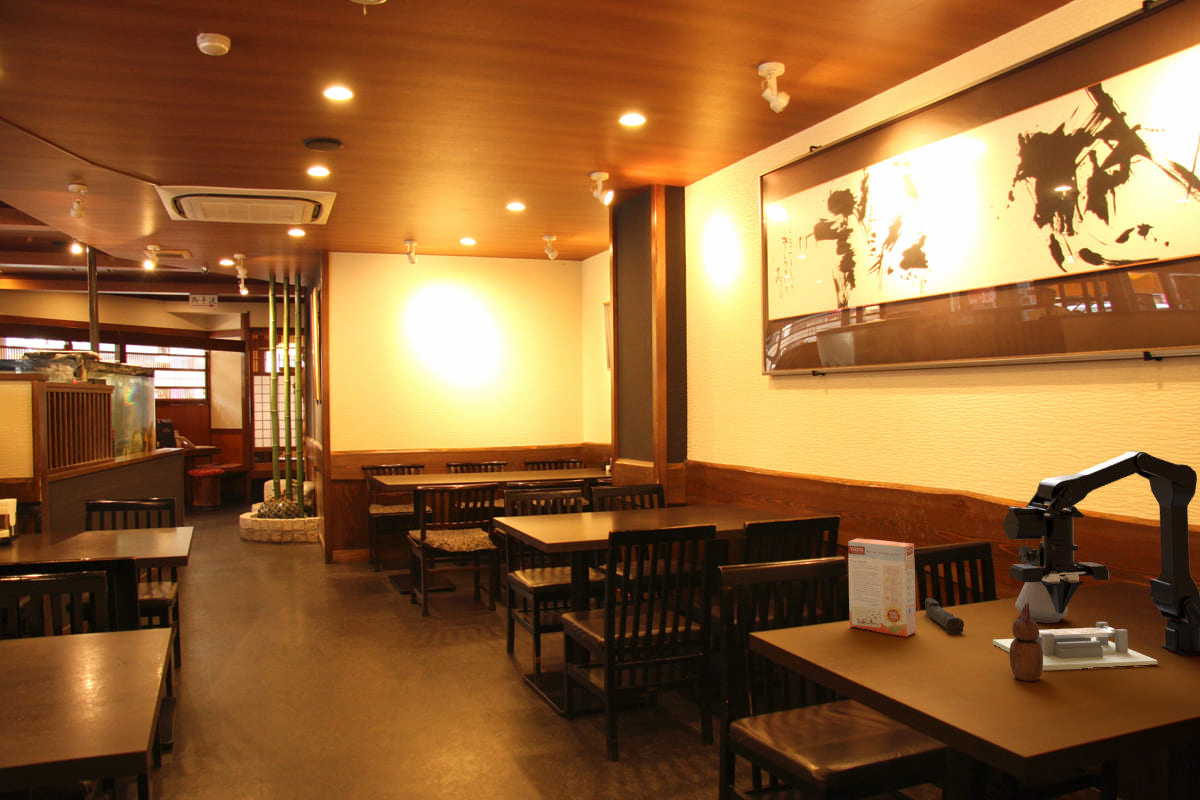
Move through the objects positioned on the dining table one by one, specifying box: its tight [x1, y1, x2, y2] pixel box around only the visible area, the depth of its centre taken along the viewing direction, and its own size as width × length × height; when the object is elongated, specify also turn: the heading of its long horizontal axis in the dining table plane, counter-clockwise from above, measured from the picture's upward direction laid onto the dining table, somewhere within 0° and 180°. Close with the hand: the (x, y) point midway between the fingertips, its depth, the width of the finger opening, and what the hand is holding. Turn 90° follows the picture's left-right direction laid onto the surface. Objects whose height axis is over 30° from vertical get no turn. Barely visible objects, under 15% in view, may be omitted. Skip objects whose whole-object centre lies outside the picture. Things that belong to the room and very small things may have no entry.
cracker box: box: [847, 538, 917, 638], centre depth 192 cm, size 14×6×21 cm, turn 47°
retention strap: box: [1039, 625, 1116, 639], centre depth 172 cm, size 17×4×2 cm, turn 94°
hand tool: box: [924, 597, 965, 635], centre depth 198 cm, size 19×4×5 cm, turn 175°
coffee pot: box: [1014, 566, 1069, 624], centre depth 196 cm, size 21×12×15 cm, turn 142°
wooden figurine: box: [1008, 603, 1043, 682], centre depth 158 cm, size 7×6×15 cm
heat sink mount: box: [992, 621, 1158, 671], centre depth 172 cm, size 24×18×6 cm
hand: (1059, 613), depth 172 cm, fingers closed
